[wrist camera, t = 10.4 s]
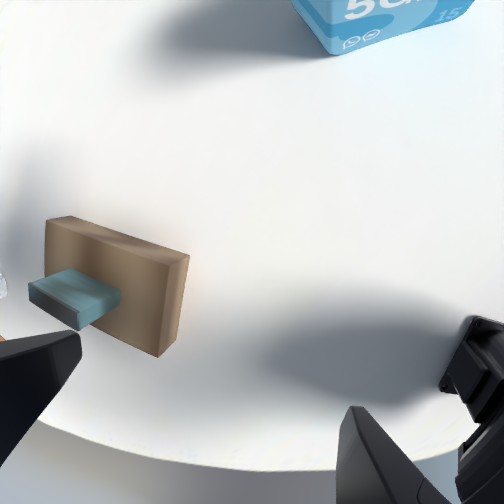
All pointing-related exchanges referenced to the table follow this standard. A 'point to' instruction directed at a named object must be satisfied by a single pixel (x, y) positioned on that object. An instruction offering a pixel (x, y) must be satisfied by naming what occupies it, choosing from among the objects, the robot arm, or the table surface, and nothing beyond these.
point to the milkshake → (2, 287)
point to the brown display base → (111, 283)
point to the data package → (372, 19)
